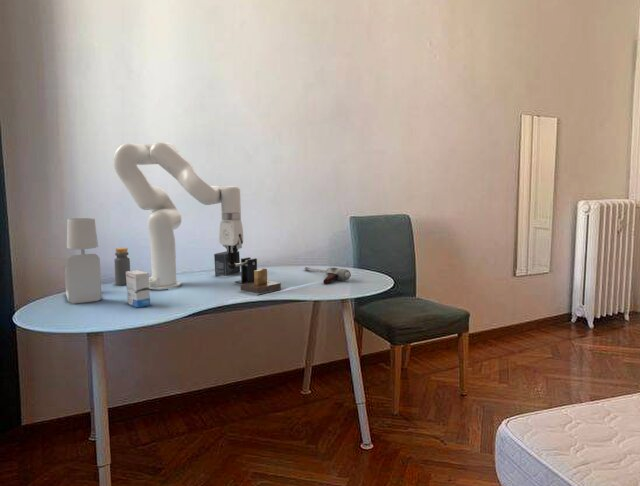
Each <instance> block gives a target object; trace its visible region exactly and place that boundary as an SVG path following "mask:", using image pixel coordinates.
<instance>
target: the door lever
mask: <svg viewBox="0 0 640 486" xmlns="http://www.w3.org/2000/svg"><path fill="white" fill-rule="evenodd" d="M242 265H245V266H247V260H245V262H243V263H241V262H240V263H237V264H235V263H234V262H232V263H231V262H230V263H229V264H228V268H229V269H230V270H233V269H235V267H237V266H240V267H241V266H242Z"/></svg>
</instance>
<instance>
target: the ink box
mask: <svg viewBox="0 0 640 486" xmlns="http://www.w3.org/2000/svg"><path fill="white" fill-rule="evenodd" d="M149 277H150V276H149V273H148V272H146V271H142V270H139V269H136V270H130V271H127V272H126V283H127V285H126V294H127V304H128V305H130V306H133V307H135V308H144V307H148V306H151V295H150V293H151V292H150V289H149Z"/></svg>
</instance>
